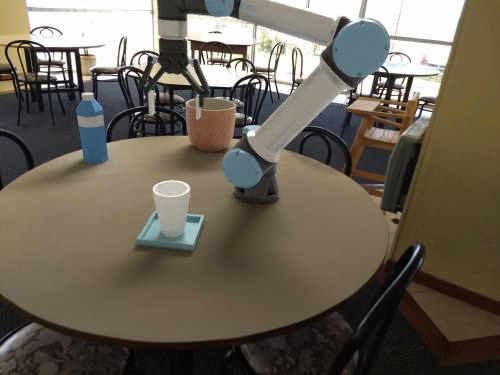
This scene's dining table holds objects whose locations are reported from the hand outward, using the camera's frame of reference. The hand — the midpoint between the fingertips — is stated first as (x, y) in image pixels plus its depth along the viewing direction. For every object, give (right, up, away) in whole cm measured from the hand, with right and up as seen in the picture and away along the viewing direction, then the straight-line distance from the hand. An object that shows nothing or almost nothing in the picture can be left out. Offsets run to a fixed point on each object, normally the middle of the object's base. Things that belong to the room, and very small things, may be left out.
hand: (175, 116), depth 108 cm
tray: (+1, -33, -6) cm, 34 cm away
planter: (+4, -3, +55) cm, 55 cm away
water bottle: (-37, -10, +35) cm, 52 cm away
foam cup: (+1, -33, -6) cm, 33 cm away
